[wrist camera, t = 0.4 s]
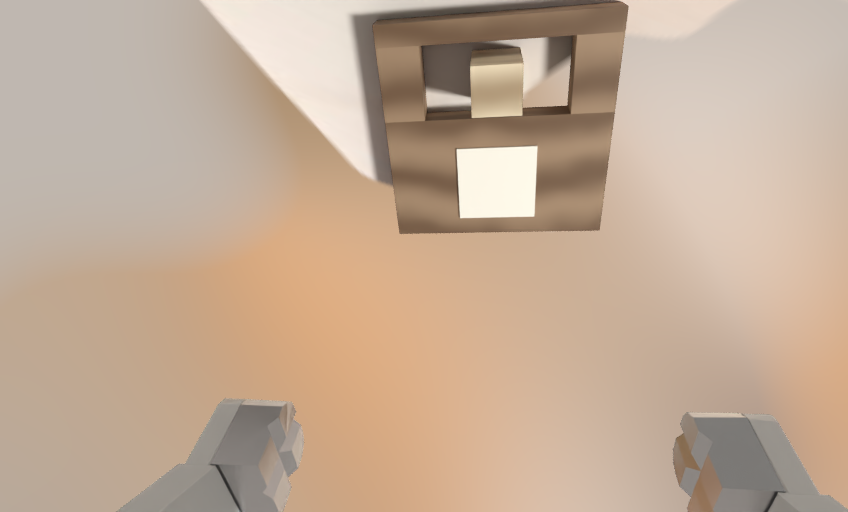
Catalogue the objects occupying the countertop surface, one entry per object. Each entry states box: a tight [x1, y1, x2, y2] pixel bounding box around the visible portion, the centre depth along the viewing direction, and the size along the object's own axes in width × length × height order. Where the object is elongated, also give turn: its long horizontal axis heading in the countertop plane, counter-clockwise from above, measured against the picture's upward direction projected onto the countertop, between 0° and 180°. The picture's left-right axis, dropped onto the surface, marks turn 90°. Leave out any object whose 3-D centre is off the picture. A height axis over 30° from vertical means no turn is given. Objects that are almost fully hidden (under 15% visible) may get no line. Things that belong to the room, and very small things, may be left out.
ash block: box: [470, 47, 524, 118], centre depth 46 cm, size 4×4×6 cm
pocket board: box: [372, 2, 628, 234], centre depth 50 cm, size 22×22×3 cm
